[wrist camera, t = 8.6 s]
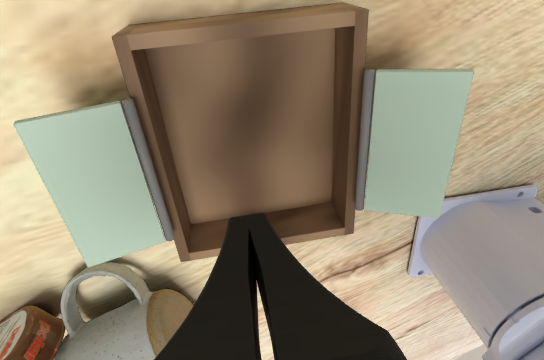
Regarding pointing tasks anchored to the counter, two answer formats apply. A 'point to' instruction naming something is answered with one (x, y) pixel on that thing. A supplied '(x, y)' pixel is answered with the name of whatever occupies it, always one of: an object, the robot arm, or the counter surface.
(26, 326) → the tin
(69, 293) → the ceramic mug
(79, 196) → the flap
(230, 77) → the crate
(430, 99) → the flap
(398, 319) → the counter surface
